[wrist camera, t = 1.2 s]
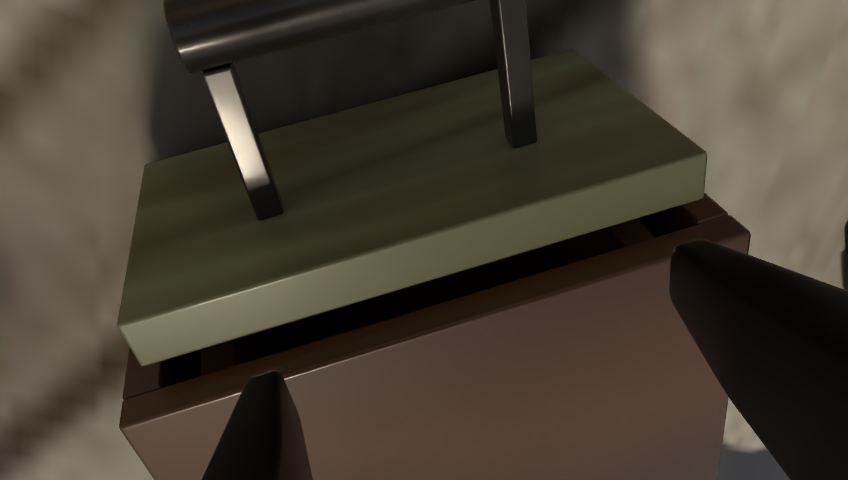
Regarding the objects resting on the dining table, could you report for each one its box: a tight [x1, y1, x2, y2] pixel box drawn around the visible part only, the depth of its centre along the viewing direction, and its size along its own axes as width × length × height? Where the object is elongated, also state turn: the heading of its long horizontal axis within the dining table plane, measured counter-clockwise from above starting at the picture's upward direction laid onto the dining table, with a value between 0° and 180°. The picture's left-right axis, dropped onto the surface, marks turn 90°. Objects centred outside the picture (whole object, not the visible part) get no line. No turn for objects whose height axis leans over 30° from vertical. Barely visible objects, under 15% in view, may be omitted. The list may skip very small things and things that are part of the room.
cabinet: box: [119, 193, 751, 480], centre depth 22 cm, size 14×14×9 cm
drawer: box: [117, 0, 707, 376], centre depth 19 cm, size 18×12×7 cm
